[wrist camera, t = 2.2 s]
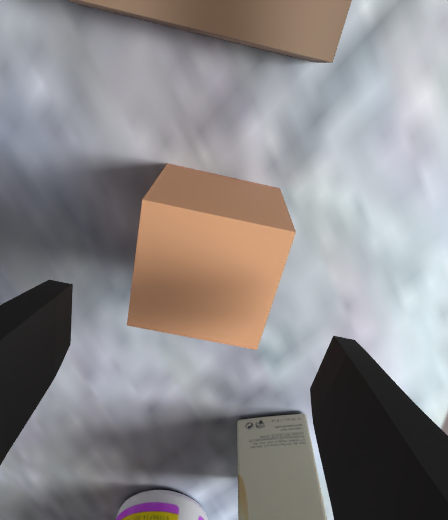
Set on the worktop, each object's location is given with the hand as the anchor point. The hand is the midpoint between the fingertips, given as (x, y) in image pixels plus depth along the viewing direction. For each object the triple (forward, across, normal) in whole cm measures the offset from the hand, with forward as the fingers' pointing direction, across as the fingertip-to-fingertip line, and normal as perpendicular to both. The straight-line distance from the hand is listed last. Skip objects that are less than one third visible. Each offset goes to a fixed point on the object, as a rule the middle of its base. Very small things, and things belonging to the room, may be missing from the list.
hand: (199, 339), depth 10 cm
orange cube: (+8, 0, 0) cm, 8 cm away
